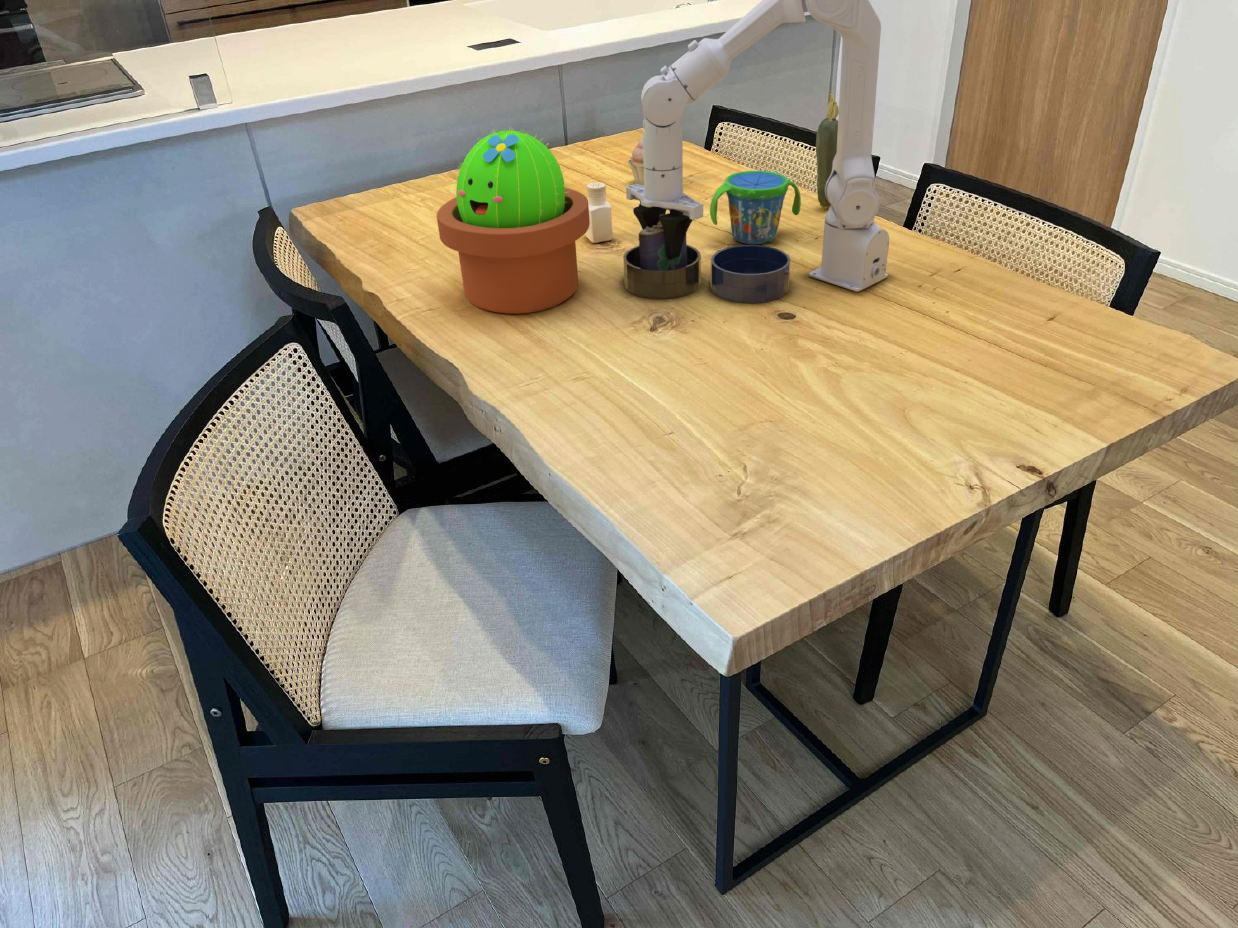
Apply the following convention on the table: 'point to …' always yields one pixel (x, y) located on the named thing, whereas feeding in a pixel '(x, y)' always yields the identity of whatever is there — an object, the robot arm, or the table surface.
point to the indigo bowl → (750, 273)
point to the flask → (658, 250)
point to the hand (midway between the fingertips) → (664, 254)
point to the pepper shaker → (599, 214)
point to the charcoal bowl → (662, 276)
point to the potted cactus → (514, 225)
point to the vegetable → (826, 149)
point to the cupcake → (637, 163)
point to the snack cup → (755, 204)
